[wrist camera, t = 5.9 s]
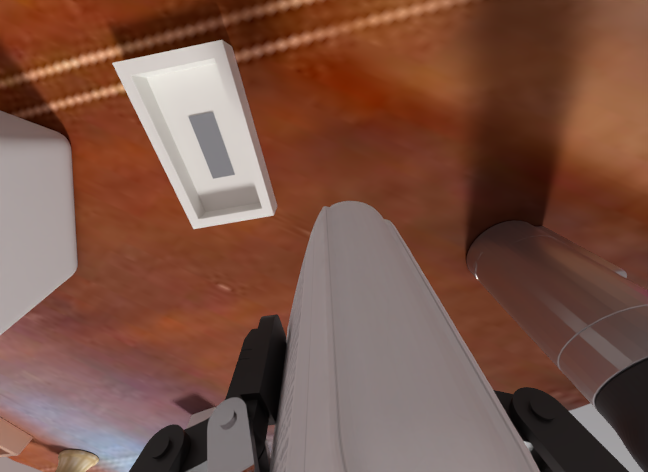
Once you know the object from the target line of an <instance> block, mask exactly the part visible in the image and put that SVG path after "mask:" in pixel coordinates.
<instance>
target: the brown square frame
mask: <svg viewBox="0 0 648 472" xmlns="http://www.w3.org/2000/svg"><path fill="white" fill-rule="evenodd" d="M32 439H33V437H32V436H30V435H29V434H27V433H25V432H24V431H22V430H20V429H19V428H17V427H16V426H14V425H12V424H11V423H9V422H7V421H6V420H4V419H2V418H1V417H0V457H7V456H16V455H19V454H20V453H21V452H22V450H23V449H24V448H25V447H26V446H27V444H28V443H29V442H30V441H31V440H32Z"/></svg>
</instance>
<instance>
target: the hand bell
mask: <svg viewBox="0 0 648 472" xmlns="http://www.w3.org/2000/svg"><path fill="white" fill-rule="evenodd" d="M58 459H59V463H58V467H57V470H56V472H85V471H86V470H88V469H89V468H90V467H92V466H94V465H95V464H96V463H97V462H98V461H99V458H98V457H97V456H96V455H94V454H92V453H89V452H86V451H82V450H64V451H62V452H60V453H59V456H58Z"/></svg>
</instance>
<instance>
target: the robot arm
mask: <svg viewBox="0 0 648 472" xmlns="http://www.w3.org/2000/svg"><path fill="white" fill-rule="evenodd" d="M467 266H468V269H469V270H470V272H471V273H472V274H473V275H474V276H475V277H476V278H477V280H478V281H479V282H480V283H481V284H482V285H483V286H484V287H485V288H486V289H487V290H488V292H489V293H490V294H491V295H492V296H493V297H494V298H495V299H496V300H497V302H498V303H499V304H500V305H501V306H502V307H503V308H504V309H505V310H506V311H507V312H508V313H509V315H510V316H511V317H512V318H513V319H514V320H515V321H516V322H517V323H518V324H519V325H520V327H521V328H522V329H523V330H524V331H525V332H526V333H527V334H528V335H529V336H530V337H531V339H532V340H533V341H534V342H535V343H536V344H537V345H538V346H539V347H540V348H541V349H542V350H543V352H544V353H545V354H546V355H547V356H548V357H549V358H550V359H551V360H552V361H553V362H554V364H555V365H556V366H557V367H558V368H559V369H560V370H561V371H562V372H563V373H564V374H565V375H566V376H567V378H568V379H569V380H570V381H571V382H572V383H573V384H574V385H575V386H576V387H577V388H578V390H579V391H580V392H581V393H582V394H583V395H584V396H585V397H586V398H587V399H588V400H589V402H590V403H591V404H592V405H593V406H594V407H595V408H596V409H597V410H598V412H599V413H600V414H601V415H602V416H603V417H604V418H605V419H606V420H607V421H608V423H609V424H610V425H611V426H612V427H613V428H614V430H615V431H616V432H617V434H618V435H619V437H620V438H621V440H622V441H623V443H624V445H625V446H626V448H627V449H628V451H629V452H630V454H631V455H632V457H633V458H634V459H635V461H636V462H637V464H638V465H639V466H640V467H641V469H642V470H643V471H644V472H648V290H646V289H644V288H642V287H641V286H639V285H637V284H635V283H634V282H632V281H630V280H628V279H626V277H627V274H626V272H625V271H624V270H623V269H621V268H619V267H617V266H616V265H614V264H612V263H610V262H608V261H606V260H605V259H603V258H601V257H599V256H597V255H595V254H594V253H592V252H590V251H588V250H586V249H584V248H582V247H581V246H579V245H577V244H575V243H573V242H571V241H570V240H568V239H566V238H564V237H562V236H560V235H559V234H557V233H555V232H553V231H551V230H549V229H548V228H546V227H544V226H538V227H535V226H533V225H531V224H529V223H528V222H524V221H516V220H513V221H506V222H503V223H500V224H497V225H495V226H493V227H491V228H489V229H487V230H486V231H485V232H483V233H482V234H481V235H480V236H479V237H478V238H476V240H475V241H474V242H473V244H472V245H471V247H470V249H469V251H468V254H467ZM286 346H287V342H286V335H285V332H284V330H283V327H282V324H281V321H280V319H279V316H278V315H270V316H263V317H261V319H260V322H259V326H258V329H252V330H251V331H250V332H249V334H248V335H247V337H246V338H245V339H244V343H243V346H242V349H241V352H240V355H239V358H238V362H237V365H236V368H235V371H234V374H233V377H232V381H231V384H230V387H229V390H228V393H227V396H226V399H225V401H223V402H222V403H221V404H219V405H218V406H217V407H216V409H215V410H214V411H213V413H212V414H211V416H210V417H209V418H208V419H206V420H204V421H202V422H200V423H198V424H196V425H194V426H191V427H189V428H187V429H185V430H183V429H182V428H181V427H180V426H179V425H169V426H167V427H165V428H163V429H161V430H160V431H158V432H157V433H156V434H155V435H154V436H153V437H152V438H151V439H150V440H149V442H148V443H147V444H146V446H145V447H144V449H143V451H142V452H141V454H140V455H139V457H138V458H137V460H136V462H135V463H134V465H133V466H132V468H131V469H130V471H129V472H270V464H271V458H270V453H269V448H268V442H267V439H266V434H267V428H268V425H275V424H276V421H277V413H278V406H279V398H280V391H281V384H282V376H283V369H284V361H285V354H286ZM493 391H494V392H495V394H496V396H497V398H498V399H499V401H500V403H501V404H502V406H503V408H504V410H505V411H506V413H507V415H508V417H509V418H510V420H511V422H512V424H513V425H514V427H515V428H516V430H517V432H518V433H519V435H520V437H521V438H522V440H523V441H524V443H525V445H526V446H527V448H528V450H529V451H530V453H531V455H532V457H533V459H534V461H535V463H536V465H537V467H538V469H539V470H540V472H629V471H628V470H627V469H626V468H625V467H624V466H623V465H622V464H620V463H619V461H618V460H617V459H616V458H615V457H614V456H613V455H612V454H611V453H610V452H609V451H608V450H607V449H606V448H605V447H604V446H602V444H601V443H599V441H598V440H597V439H596V438H595V437H594V436H593V435H592V434H591V433H589V432H588V430H587V429H586V428H585V427H584V426H582V424H581V423H579V421H578V420H576V418H575V417H574V416H573V415H572V414H571V413H570V412H569V411H568V410H567V409H566V408H565V407H564V406H563V405H562V404H561V403H559V402H558V401H557V400H556V399H555V398H553V397H552V396H550V395H549V394H547V393H545V392H543V391H541V390H538V389H535V388H529V387H524V388H520V389H518V390H517V391H515V393H514V394H509V393H504V392H500V391H495V390H493Z"/></svg>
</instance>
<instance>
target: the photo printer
mask: <svg viewBox="0 0 648 472" xmlns="http://www.w3.org/2000/svg"><path fill="white" fill-rule="evenodd" d="M286 342H287V346H286V354H285V361H284V369H283V376H282V384H281V391H280V398H279V406H278V413H277V421H276V424H275V429H274V436H273V443H272V451H271V464H270V472H540V470H539V469H538V467H537V465H536V463H535V461H534V459H533V457H532V455H531V453H530V451H529V450H528V448H527V446H526V445H525V443H524V441H523V440H522V438H521V437H520V435H519V433H518V432H517V430H516V428H515V427H514V425H513V424H512V422H511V420H510V418H509V417H508V415H507V413H506V411H505V410H504V408H503V406H502V404H501V403H500V401H499V399H498V398H497V396H496V394H495V392H494V391H493V389H492V387H491V386H490V384H489V382H488V381H487V379H486V377H485V376H484V374H483V372H482V371H481V369H480V367H479V366H478V364H477V362H476V360H475V359H474V357H473V355H472V354H471V352H470V350H469V349H468V347H467V345H466V344H465V342H464V341H463V339H462V337H461V336H460V334H459V332H458V330H457V329H456V327H455V325H454V324H453V322H452V320H451V319H450V317H449V315H448V313H447V312H446V310H445V308H444V307H443V305H442V304H441V302H440V300H439V298H438V297H437V295H436V294H435V292H434V290H433V289H432V287H431V285H430V283H429V282H428V280H427V278H426V277H425V275H424V273H423V272H422V270H421V269H420V267H419V265H418V263H417V262H416V260H415V259H414V257H413V255H412V253H411V252H410V250H409V248H408V247H407V245H406V243H405V242H404V240H403V239H402V237H401V236H400V234H399V232H398V231H397V229H396V227H395V226H394V225H393V224H392V223H391V221H389V220H385V219H383V218H382V216H381V215H380V214H379V213H378V211H377V210H375V209H374V208H373V207H371V206H369V205H367V204H365V203H362V202H357V201H344V202H339V203H336V204H334V205H332V206H331V207H326V206H324V207H323V208H322V210H321V212H320V214H319V216H318V218H317V220H316V222H315V225H314V227H313V230H312V232H311V236H310V239H309V242H308V246H307V249H306V253H305V257H304V260H303V264H302V268H301V272H300V276H299V280H298V284H297V288H296V292H295V297H294V301H293V306H292V310H291V315H290V321H289V325H288V329H287V340H286Z"/></svg>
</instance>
